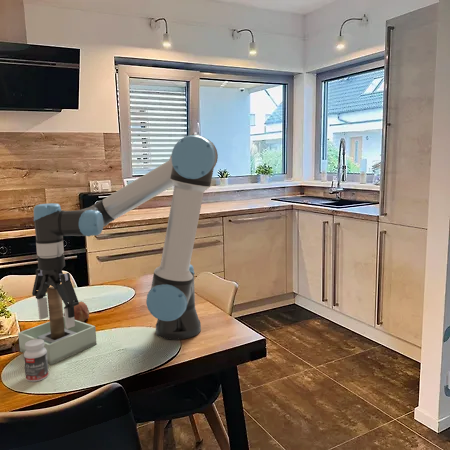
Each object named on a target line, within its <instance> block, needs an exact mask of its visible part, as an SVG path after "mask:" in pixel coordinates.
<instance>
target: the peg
mask: <svg viewBox="0 0 450 450" xmlns="http://www.w3.org/2000/svg"><path fill="white" fill-rule="evenodd" d="M46 295H47V307H48V318H49V322H50V331H51V339H53V340H57V339H60V338H62V337H64V336H65V330H64V318H63V316H64V307H63V300H62V299H61V297H60V295H59V293H58V291H57V290H56V289H54V287H52V286H50V287H49V288H47V293H46Z"/></svg>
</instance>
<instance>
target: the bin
mask: <svg viewBox="0 0 450 450" xmlns="http://www.w3.org/2000/svg"><path fill="white" fill-rule="evenodd" d="M63 318H64V330H65V336H64V337H62V338H60V339H57V340H53V339H51V331H50V321H47V322H44V323H41V324H39V325H36V326H34V327H31V328H28V329H25V330H22V331H20V332H17V333H18V335H17V336H18V343H19V352H21V353H23V354H24V352H25V351H26V349H25V343H26V342H28V341H30V340H34V339H42V340H44V348H46V350H47V359H48V365H50V366H51V365H53V364H56V363H59V362H61V361H63V360H64V359H68V358H70V357H72V356H74V355H76V354H79V353H80V352H82V351H85V350H87V349H90V348H91V347H94V346H95V345H97V333H96V332H97V331H96V326H95V325H92V324H90V323H86V322H85V321H84V322H80V321H77V320H75V326H74V327H71V328H69V329H66V327H65V316H64V315H63ZM78 352H79V353H78ZM69 356H70V357H69ZM67 357H68V358H67Z"/></svg>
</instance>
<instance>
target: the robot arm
mask: <svg viewBox="0 0 450 450" xmlns="http://www.w3.org/2000/svg"><path fill="white" fill-rule="evenodd" d="M217 150H218V149H217V148H216V145H215V144H214V143H213V142H212V141H211V140H209V139H208V138H206V137H205V136H202V135H199V134H191V135H186V136H183V137H182V138H180V139H179V141H177V142H176V144H175V145H174V146H173V148H172V152H171V155H169V160H167V161H166V162H163V163H162V164H160V165H158V167H155V168H154V169H152V170H150V171H149V172H147V173H146V174H144V175H142V176H140V177H139V178H137V179H135V180H133V181H132V182H130V183H128V184H127V185H125V186H123V187H121V188H120V189H118V190H116V191H114V192H113V193H112V194H109V195H108V196H106V197H105V198H103V199H102V200H99V201H98V202H95V203H94V204H93V205H91V206H89V207H86V208H82V209H79V210H77V209H76V210H62V208H61V207H62V206H61V205H60V203H55V202H54V203H39V204H36V205H35V206H34V207H33V224H34V233H35V246H36V255H37V256H38V257H37V267H38V268H36V269H35V279H34V283H33V288H32V292H31V295H32V296H33V297H34V296H35V299H37V309H38V310H37V311H38V319H39V320H44V319H47V318H49V308H48V296H47V288H49V287H54V289H56V290H57V291H58V293H59V295H60V297H61V299H62V303H64V307H63V316H64V315H65V327H66V329H69V328H71V327H74V326H75V320H74V316H75V314H74V306H76V305H78V304H79V302H80V301H79V300H78V297H77V294H76V291H75V289H74V285H73V283H72V281H71V274H70V273H69V272H66V273H63V268H64V267H66V261H65V260H66V258H65V255H64V253H65V249H64V237H71V236H72V237H73V236H74V237H81V236H82V237H91V236H94V237H95V236H99V235H101V234H102V232H103V230H104V227H105V226H107V225H109V224H110V223H112V222H114V220H116V219H118V218H120V217H122V216H123V215H125V214H127V213H129V212H130V211H132V210H133V209H135V208H138V207H139V206H141V205H142V204H144V203H146V202H148V201H149V200H152V199H153V198H155V197H156V196H159V195H160V194H162V193H164V192H165V191H167V190H168V189H170V188H172V187H173V192H172V196H171V197H172V199H171V204H170V209H169V214H168V221H167V226H166V232H165V238H164V242H163V243H164V244H163V248H162V255H161V261H160V264H159V266H157V267H156V268H154V270H153V275H152V280H151V286H150V289H149V291H148V292H147V295H146V304H145V305H146V308H147V310H148V312H149V313H150V314H151V316H153V317H154V318H155V319H157V321H156V324H155V334H156V336H158V337H159V338H162V339H165V340H170V341H171V340H174V341H176V340H177V341H178V340H185V339H186V340H187V339H190V338H193V337H195V336H197V335H198V334H200V333H201V331H202V327H201V326H202V324H201V321H200V319H199V315H198V313H197V310H196V298H195V297H196V296H195V268H194V265H193V264H191V260H192V256H193V250H194V246H195V242H196V241H195V240H196V235H197V229H198V224H199V218H200V213H201V208H202V203H203V198H204V192H206V191H207V190H208V189H209V188H211V183H212V179H213V174H214V168H215V167H216V165H217V163H218V158H219V157H218V155H219V154H218V151H217ZM46 296H47V297H46Z"/></svg>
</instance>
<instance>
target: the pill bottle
mask: <svg viewBox="0 0 450 450" xmlns="http://www.w3.org/2000/svg"><path fill="white" fill-rule="evenodd" d="M25 349H26V351H25V352H24V353H23V363H24V372H25V379H26V380H27V382H30V383H33V382H34V383H35V382H39V381H43V380H45V379H47V377H48V376H49V364H48V359H47V350H46V348H44V340H42V339H34V340H30V341H28V342H26V343H25Z"/></svg>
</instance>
